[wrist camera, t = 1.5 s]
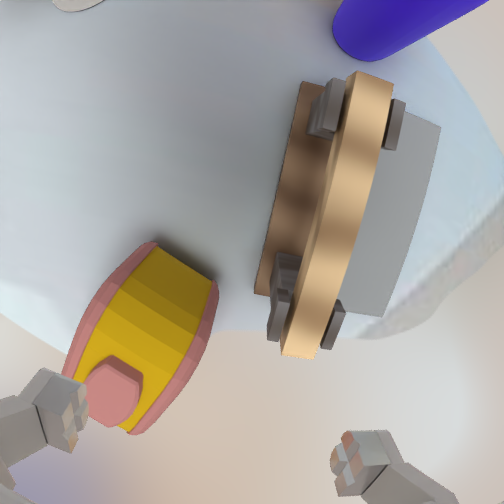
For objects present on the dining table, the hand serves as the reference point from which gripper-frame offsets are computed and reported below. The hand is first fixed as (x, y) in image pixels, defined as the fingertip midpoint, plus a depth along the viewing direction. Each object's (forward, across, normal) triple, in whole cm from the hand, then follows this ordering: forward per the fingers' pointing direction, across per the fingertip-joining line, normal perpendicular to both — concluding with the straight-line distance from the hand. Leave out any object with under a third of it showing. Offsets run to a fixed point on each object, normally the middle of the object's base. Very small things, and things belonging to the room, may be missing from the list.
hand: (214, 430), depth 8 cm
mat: (+30, -18, -6) cm, 36 cm away
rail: (+19, -7, -5) cm, 21 cm away
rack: (+30, -8, -6) cm, 32 cm away
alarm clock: (+32, +8, +13) cm, 36 cm away
